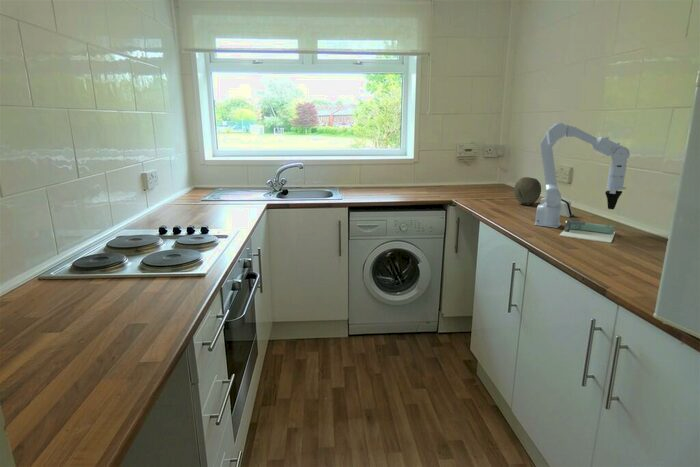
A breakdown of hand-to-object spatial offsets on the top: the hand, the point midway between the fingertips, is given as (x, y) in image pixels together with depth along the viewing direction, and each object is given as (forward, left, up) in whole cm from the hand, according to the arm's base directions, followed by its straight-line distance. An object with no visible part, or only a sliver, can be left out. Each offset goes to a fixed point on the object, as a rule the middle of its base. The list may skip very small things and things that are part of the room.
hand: (611, 208), depth 177 cm
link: (-6, -7, -9) cm, 13 cm away
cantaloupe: (-43, +40, -10) cm, 60 cm away
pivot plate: (-6, -12, -9) cm, 17 cm away
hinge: (-25, +23, -10) cm, 35 cm away
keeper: (-11, -13, -9) cm, 19 cm away
